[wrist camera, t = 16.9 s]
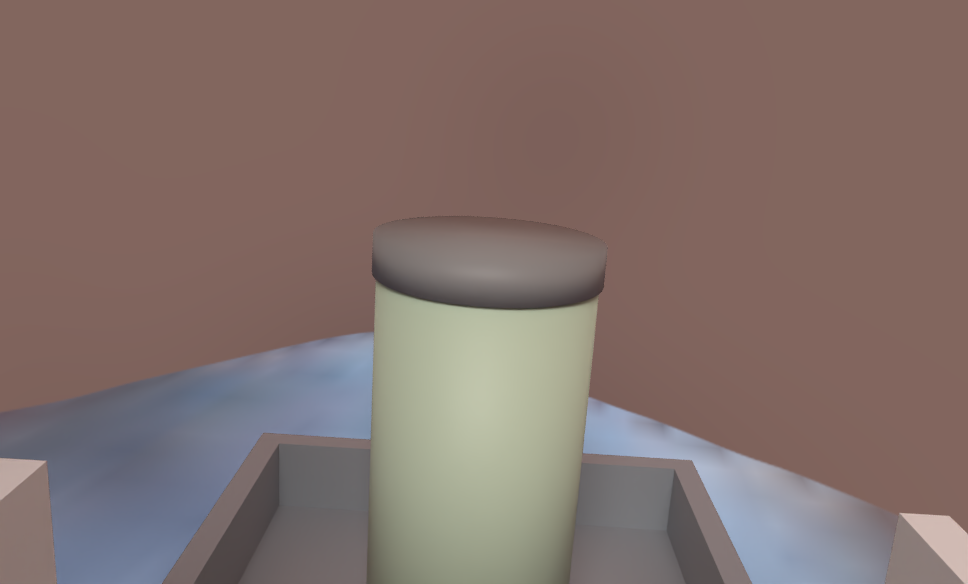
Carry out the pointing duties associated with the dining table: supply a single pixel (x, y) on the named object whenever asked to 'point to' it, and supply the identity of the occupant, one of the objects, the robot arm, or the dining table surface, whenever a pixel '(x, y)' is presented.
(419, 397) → the sage canister
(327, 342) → the dining table surface
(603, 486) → the tray
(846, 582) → the dining table surface
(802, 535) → the dining table surface
